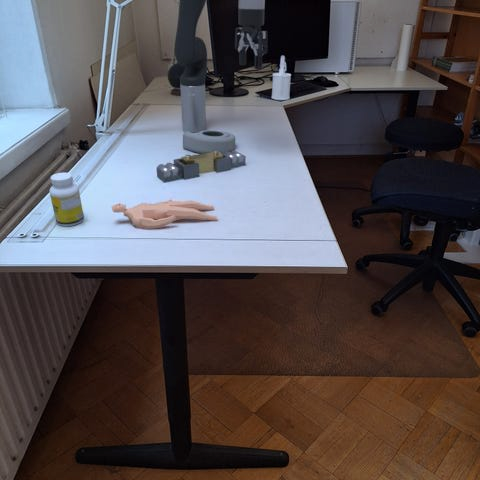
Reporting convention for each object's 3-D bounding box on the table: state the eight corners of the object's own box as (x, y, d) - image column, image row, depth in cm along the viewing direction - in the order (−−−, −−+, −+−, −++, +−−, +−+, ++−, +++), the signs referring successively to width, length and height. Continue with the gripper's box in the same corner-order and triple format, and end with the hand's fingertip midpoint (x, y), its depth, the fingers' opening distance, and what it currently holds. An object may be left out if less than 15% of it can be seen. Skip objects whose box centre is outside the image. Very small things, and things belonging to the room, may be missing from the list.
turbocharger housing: (243, 151, 157) (214, 142, 166) (245, 132, 154) (214, 124, 163) (209, 159, 146) (179, 149, 154) (210, 140, 143) (179, 130, 151)
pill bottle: (60, 215, 110) (50, 171, 104) (87, 214, 110) (79, 170, 104) (53, 227, 104) (42, 181, 98) (81, 227, 105) (72, 181, 99)
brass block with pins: (182, 172, 136) (181, 154, 133) (218, 166, 140) (218, 149, 137) (186, 176, 133) (185, 157, 130) (222, 170, 137) (222, 152, 135)
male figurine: (219, 212, 105) (110, 213, 99) (218, 231, 107) (111, 232, 102) (213, 194, 114) (112, 193, 109) (211, 211, 116) (113, 212, 111)
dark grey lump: (169, 91, 236) (167, 61, 229) (193, 90, 237) (192, 61, 230) (168, 96, 225) (166, 65, 217) (194, 96, 226) (193, 65, 219)
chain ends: (155, 175, 133) (154, 163, 131) (235, 159, 146) (235, 147, 144) (165, 183, 127) (164, 170, 125) (247, 166, 140) (247, 154, 138)
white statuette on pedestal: (272, 95, 229) (274, 54, 219) (290, 96, 228) (292, 54, 218) (270, 100, 220) (272, 57, 210) (289, 101, 219) (292, 57, 209)
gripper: (276, 8, 124) (273, 69, 132) (248, 5, 134) (247, 62, 142) (254, 8, 120) (252, 71, 128) (227, 6, 131) (227, 64, 139)
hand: (250, 66), depth 135 cm, fingers open, 8 cm apart
